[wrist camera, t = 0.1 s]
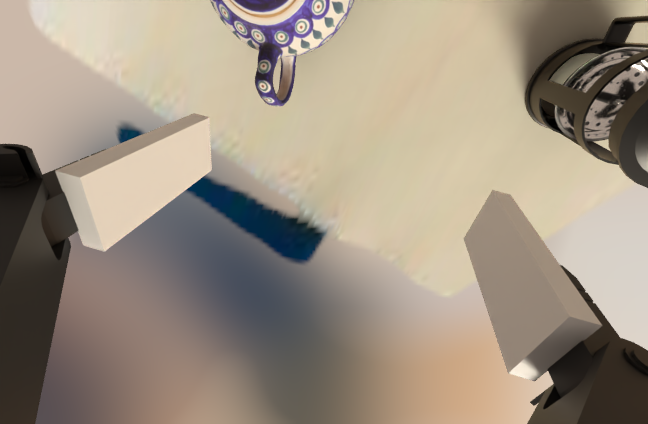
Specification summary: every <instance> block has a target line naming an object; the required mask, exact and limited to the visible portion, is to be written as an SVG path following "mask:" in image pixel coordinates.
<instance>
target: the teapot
mask: <svg viewBox="0 0 648 424" xmlns="http://www.w3.org/2000/svg"><path fill="white" fill-rule="evenodd" d="M210 1H211V3H212V5H213V7H214V9H215V11H216V12H217V14H218V15H219V17H220V18H221V20H222V21H223V22H224V23H225V25H226V26H227V27H228V28H229V29H230V30H231V31H232V32H233V33H234V34H235V35H236V36H237V37H238V38H239V39H240V40H241V41H243V42H244V43H246V44H247V45H249V46H250V47H252V48H254V49H256V50H259V55H258V68H257V72H256V76H255V85H256V88H257V91H258V93H259V95H260V96H261V98H262V99H263V100H264V101H265V102H266V103H267V104H269V105H271V106H283V105H284V104H285V103H286V102H287V101H288V100H289V98H290V95H291V92H292V89H293V84H294V77H295V62H296V56H297V55H302V54H305V53H308V52H311V51H313V50H315V49H316V48H318V47H320V46H321V45H323V44H324V43H325V42H327V41H328V40H329V39H330V38H331V37H332V36H333V35H334V34H335V33H336V32H337V31H338V30H339V28H340V27H341V25H342V24H343V23H344V21H345V20H346V18H347V16H348V14H349V12H350V10H351V8H352V5H353V3H354V0H210ZM280 57H281V75H280V84H279V90H278V93H277V94H276V93H275V90H274V87H273V73H274V68H275V66H276V63H277V60H278V59H279V58H280Z"/></svg>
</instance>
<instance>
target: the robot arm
mask: <svg viewBox="0 0 648 424" xmlns="http://www.w3.org/2000/svg"><path fill="white" fill-rule="evenodd" d="M210 171H211V144H210V120H209V117H206V116H202V115H198V114H195V113H194V114H191V115H189V116H187V117H184V118H182V119H179V120H177V121H174V122H172V123H169V124H167V125H165V126H163V127H160V128H157V129H155V130H153V131H150V132H148V133H145V134H143V135H140V136H138V137H135V138H133V139H131V140H128V141H126V142H123V143H121V144H118V145H116V146H114V147H111V148H109V149H105V150H102V151H100V152H97V153H95V154H92V155H91V156H87V157H85V158H82V159H80V161H75V162H73V163H70V164H68V165H65V166H63V167H60V168H58V169H56V170H53V171H50V172H48V173H46V174H43V175H42V173H41V171H40V168H39V166H38V163H37V161H36V158H35V156H34V154H33V151H32V149H30V148H29V147H27V146H23V145H18V144H0V424H35V421H36V417H37V411H38V406H39V402H40V397H41V392H42V387H43V382H44V376H45V372H46V367H47V362H48V357H49V352H50V347H51V343H52V337H53V333H54V327H55V322H56V318H57V313H58V308H59V303H60V298H61V293H62V288H63V283H64V277H65V273H66V268H67V263H68V258H69V253H70V248H71V245H70V241H69V238H68V237H69V236H71V235H72V234H74V233H75V232H77V231H78V232H79V235H80V238H81V240H82V243H83V245H84V246H88V247H91V248H94V249H98V250H101V251H106V250H107V249H108V248H110V247H111V246H112V245H114V244H115V243H116V242H118V241H119V240H120V239H122V238H123V237H124V236H126V235H127V234H128V233H130V232H131V231H132V230H133V229H135V228H136V227H137V226H139V225H140V224H141V223H143V222H144V221H145V220H146V219H148V218H149V217H151V216H152V215H153V214H154V213H156V212H157V211H158V210H160V209H161V208H162V207H164V206H165V205H166V204H168V203H169V202H170V201H171V200H173V199H174V198H176V197H177V196H178V195H179V194H181V193H182V192H183V191H185V190H186V189H187V188H189V187H190V186H191V185H193V184H194V183H195V182H197V181H198V180H199V179H201V178H202V177H203V176H205V175H206V174H207V173H208V172H210ZM464 241H465V244H466V247H467V250H468V253H469V256H470V259H471V262H472V265H473V268H474V271H475V274H476V277H477V280H478V283H479V286H480V289H481V292H482V295H483V298H484V301H485V304H486V307H487V310H488V313H489V316H490V320H491V322H492V326H493V329H494V332H495V334H496V337H497V341H498V344H499V347H500V350H501V353H502V356H503V359H504V362H505V365H506V368H507V371H508V373H509V374H512V375H516V376H519V377H522V378H525V379H529V380H532V381H536V380H537V379H538V378H539V377H540V376H541V375H543V374H544V373H545V372H547V371H549V374H550V376H551V378H552V380H553V382H554V384H553V385H552V386H551V387H549V388H548V389H547V390H545V391H544V392H543V393H541V394H540V395H539V396H538V397H536V398H535V399H534V400H532V401H531V402H530V403H531V404H533V405H536V404H537V403H539V404H538V405H537V407H536V409H535V411H534V413H533V414H532V416H531V418H530V420H529V421H528V423H527V424H648V351H647V350H646V349H644V348H642V347H641V346H639V345H637V344H635V343H633V342H631V341H628V340H625V339H622V338H620V337H619V335H618V334H617V333H616V331H615V330H614V329H613V327H612V326H611V325H610V323H609V322H608V321H607V319H606V318H605V316H604V315H603V314H602V312H601V311H600V310H599V308H598V307H597V305H596V304H595V303H593V300H592V299H591V297H590V296H589V295H588V293H586V292H585V289H584V288H583V286H582V285H581V284H580V282H579V281H578V280H577V278H576V277H575V276H574V275H572V274H571V273H570V272H569V271H568V270H567V269H565V268H564V267H563V266H561V265H559V264H558V262H557V260H556V259H555V258H554V256H553V255H552V253H551V252H550V250H549V249H548V248H547V246H546V245H545V243H544V242H543V241H542V239H541V238H540V236H539V235H538V233H537V232H536V231H535V229H534V228H533V226H532V225H531V223H530V222H529V221H528V219H527V218H526V216H525V215H524V213H523V212H522V211H521V209H520V208H519V206H518V205H517V204H516V202H515V201H514V199H513V198H512V196H511V195H509V194H505V193H501V192H498V191H494V190H492V192H491V194H490V195H489V197H488V199H487V200H486V202H485V204H484V205H483V207H482V209H481V210H480V212H479V214H478V215H477V217H476V219H475V220H474V222H473V224H472V225H471V227H470V229H469V231H468V232H467V234H466V236H465V237H464Z"/></svg>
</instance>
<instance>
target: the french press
mask: <svg viewBox="0 0 648 424" xmlns="http://www.w3.org/2000/svg"><path fill="white" fill-rule="evenodd" d="M645 22H648V16H637V17H620V18H615V19H614V20H613V21H612V23H611V25H610V27H609V29H608V31H607V33H606V35H605V38H604V39H585V40H581V41H577V42H574V43H572V44H569V45H567V46H565V47H563V48H561V49H560V50H558V51H556V52H555V53H553V54H552V55H551V56H550V57H548V58H547V59H546V60H545V61H544V62H543V63H542V64H541V65H540V66H539V67H538V69H537V70H536V72H535V73H534V75H533V76H532V78H531V80H530V82H529V84H528V88H527V91H526V100H525V101H526V108H527V110H528V113H529V115H530V116H531V117H532V119H533V120H534V121H535V122H537V123H538V124H539V125H541V126H544V127H546V128H550V129H552V130H553V131H556V132H558V133H560V134H562V135H564V136H565V137H567V138H568V139H570V140H572V141H573V142H575V143H576V144H578V145H580V146H581V147H582V148H583V149H584V150H586V151H587V152H588V153H590V154H591V155H593V156H594V157H596V158H598V159H600V160H602V161H604V162H607V163H612V164H617V165H619V166H620V168H621V170H622V171H623V172H624V174H625V175H626V176H627V177H629V178H630V179H631V180H633V181H634V182H636V183H637V184H640V185H642V186H645V187H647V188H648V49H646V48H648V44H643V43H625V41H626V39H627V37H628V35H629V33H630V31H631V29H632V27H633V25H634V24H635V23H645ZM640 47H642V48H640ZM584 53H597V54H600V55H599V56H597V57H595V58H594V59H592V60H590V61H588V62H587V63H585V64H584V65H582V66H581V67H580V68H578V69H577V70H576V71H575V72H574V73H573V74H572V75H571V76H570V77H569V78H568V79H567V80H566V81H565V83H564V84H563V85H561V84H558V83H554V82H551V81H549V80H550V78H551V77H552V76H553V74H554V73H555V72H556V71H557V70H558V69H559V68H560V67H561V66H562V65H563V64H564V63H565V62H567V61H568V60H569V59H570V58H572V57H574V56H577V55H580V54H584ZM541 99H543V100H545V101H548V102H550V103H552V104H554V105H555V108H554V112H555V118H554V117H552V116H549V115H548V114H547V113H546V112H545V111H544V110H543V108H542V106H541ZM605 139H609V148H610V150H611V151H609V150H607V149H605V148H603V147H602V146H600V145H598V144H596V143H594V142H593V141H600V140H605Z"/></svg>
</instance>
